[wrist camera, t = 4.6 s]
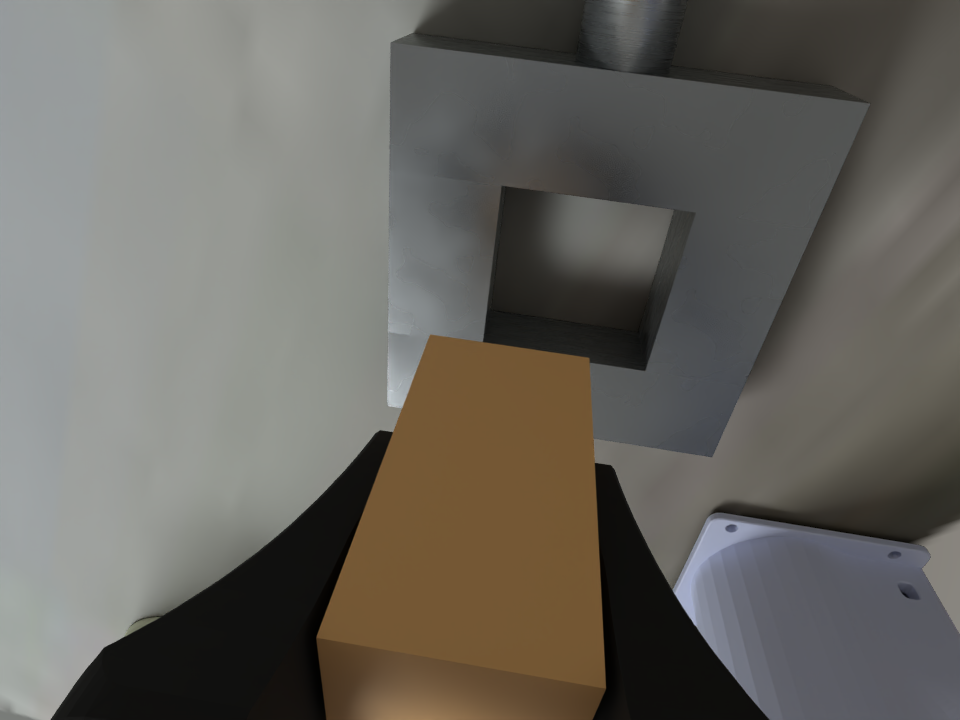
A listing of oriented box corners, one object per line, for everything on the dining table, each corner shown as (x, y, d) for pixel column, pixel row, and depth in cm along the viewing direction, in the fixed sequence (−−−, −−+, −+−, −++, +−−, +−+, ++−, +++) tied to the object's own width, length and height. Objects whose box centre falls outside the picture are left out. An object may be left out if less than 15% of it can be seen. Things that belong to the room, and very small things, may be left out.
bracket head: (1007, -343, 12) (1099, -408, 10) (699, 413, 23) (711, 457, 21) (423, -395, 12) (395, -466, 10) (403, 367, 24) (387, 405, 22)
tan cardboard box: (589, 357, 14) (606, 688, 8) (561, 472, 17) (556, 802, 10) (430, 334, 15) (316, 637, 8) (424, 450, 17) (331, 760, 10)
